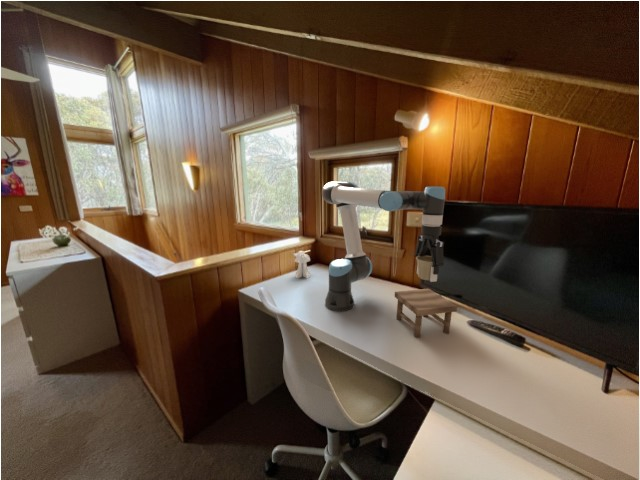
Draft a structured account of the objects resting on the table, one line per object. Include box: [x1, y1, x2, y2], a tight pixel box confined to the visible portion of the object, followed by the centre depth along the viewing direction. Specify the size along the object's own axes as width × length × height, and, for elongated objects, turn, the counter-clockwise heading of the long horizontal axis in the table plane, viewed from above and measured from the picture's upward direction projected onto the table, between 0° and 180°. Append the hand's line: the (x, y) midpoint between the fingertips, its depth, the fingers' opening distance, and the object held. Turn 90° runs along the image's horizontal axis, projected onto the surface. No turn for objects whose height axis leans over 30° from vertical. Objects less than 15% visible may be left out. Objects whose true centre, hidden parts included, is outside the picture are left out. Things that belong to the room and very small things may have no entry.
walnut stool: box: [394, 288, 458, 339], centre depth 108 cm, size 18×18×13 cm
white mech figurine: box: [292, 249, 311, 279], centre depth 169 cm, size 12×13×18 cm
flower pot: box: [415, 255, 433, 281], centre depth 104 cm, size 9×9×9 cm
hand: (426, 277), depth 105 cm, fingers closed on flower pot, 8 cm apart
